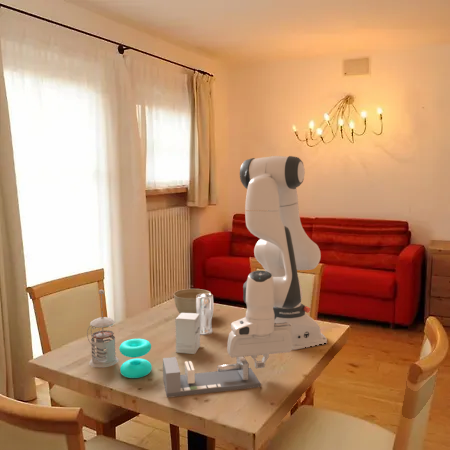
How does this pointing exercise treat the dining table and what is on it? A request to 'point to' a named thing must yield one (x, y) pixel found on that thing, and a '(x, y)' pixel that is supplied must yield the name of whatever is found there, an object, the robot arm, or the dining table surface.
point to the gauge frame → (203, 380)
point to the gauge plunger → (237, 367)
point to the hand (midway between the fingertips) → (259, 367)
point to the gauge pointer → (189, 372)
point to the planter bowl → (187, 299)
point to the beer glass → (205, 312)
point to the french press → (102, 342)
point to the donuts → (136, 366)
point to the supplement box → (187, 333)
